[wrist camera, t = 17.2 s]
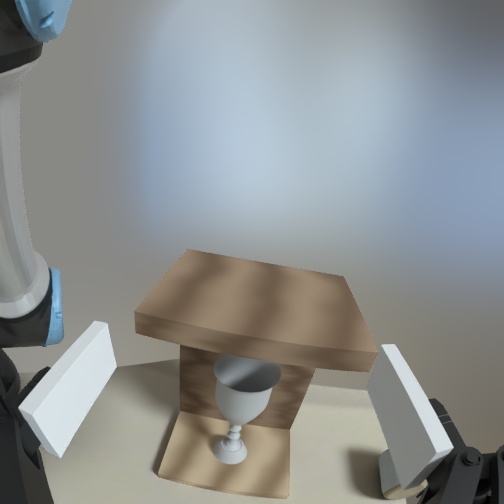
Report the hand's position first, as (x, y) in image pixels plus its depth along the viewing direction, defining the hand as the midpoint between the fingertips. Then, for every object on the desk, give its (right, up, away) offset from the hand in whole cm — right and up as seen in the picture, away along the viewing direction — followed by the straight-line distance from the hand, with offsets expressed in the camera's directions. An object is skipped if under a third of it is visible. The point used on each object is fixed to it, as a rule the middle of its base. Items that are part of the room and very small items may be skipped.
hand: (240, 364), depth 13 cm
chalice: (-3, -24, +22) cm, 33 cm away
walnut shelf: (-3, -25, +23) cm, 34 cm away
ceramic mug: (+24, -32, +18) cm, 44 cm away
